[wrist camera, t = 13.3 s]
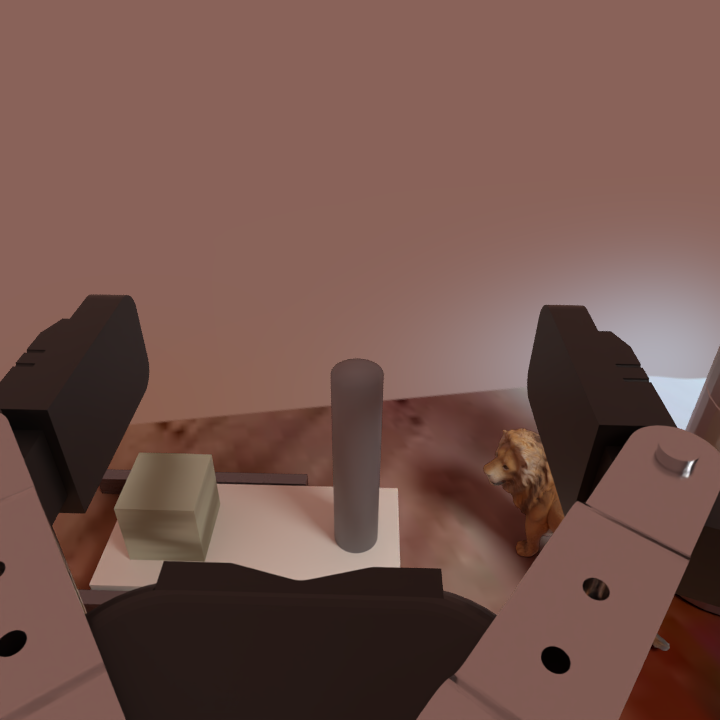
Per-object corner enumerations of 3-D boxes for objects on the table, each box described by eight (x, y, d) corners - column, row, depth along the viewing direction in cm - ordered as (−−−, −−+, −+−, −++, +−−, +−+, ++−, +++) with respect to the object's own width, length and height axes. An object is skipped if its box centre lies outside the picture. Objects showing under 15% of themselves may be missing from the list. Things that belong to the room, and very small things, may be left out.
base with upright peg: (397, 501, 48) (407, 332, 39) (399, 607, 41) (413, 427, 32) (137, 495, 48) (89, 325, 40) (94, 598, 41) (23, 418, 32)
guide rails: (308, 488, 49) (307, 474, 49) (291, 624, 40) (289, 609, 39) (106, 483, 50) (102, 469, 49) (42, 617, 40) (35, 602, 39)
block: (220, 504, 46) (211, 454, 43) (204, 561, 42) (193, 510, 39) (152, 502, 46) (139, 452, 43) (130, 559, 42) (113, 508, 39)
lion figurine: (462, 526, 47) (476, 436, 41) (509, 493, 49) (527, 404, 44) (643, 679, 37) (690, 588, 32) (688, 628, 40) (738, 535, 35)
